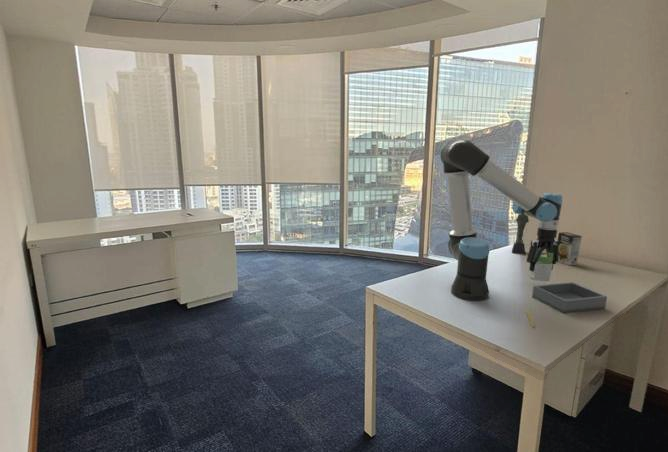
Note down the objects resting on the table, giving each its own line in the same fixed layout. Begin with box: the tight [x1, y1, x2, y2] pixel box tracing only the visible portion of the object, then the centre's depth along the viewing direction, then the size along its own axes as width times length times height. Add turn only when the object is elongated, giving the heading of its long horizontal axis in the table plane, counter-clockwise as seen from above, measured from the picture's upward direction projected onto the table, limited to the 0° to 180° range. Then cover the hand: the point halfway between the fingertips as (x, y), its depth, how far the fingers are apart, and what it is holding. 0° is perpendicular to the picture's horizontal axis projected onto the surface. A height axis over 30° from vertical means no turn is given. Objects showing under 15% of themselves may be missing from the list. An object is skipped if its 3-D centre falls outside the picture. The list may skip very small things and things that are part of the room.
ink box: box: [529, 251, 553, 282], centre depth 171 cm, size 7×4×13 cm, turn 84°
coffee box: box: [557, 231, 583, 266], centre depth 206 cm, size 9×6×16 cm
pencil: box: [525, 310, 535, 329], centre depth 138 cm, size 1×14×1 cm, turn 162°
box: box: [531, 281, 608, 314], centre depth 153 cm, size 20×16×5 cm
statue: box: [511, 214, 530, 255], centre depth 223 cm, size 7×8×30 cm
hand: (539, 277), depth 172 cm, fingers closed on ink box, 8 cm apart
